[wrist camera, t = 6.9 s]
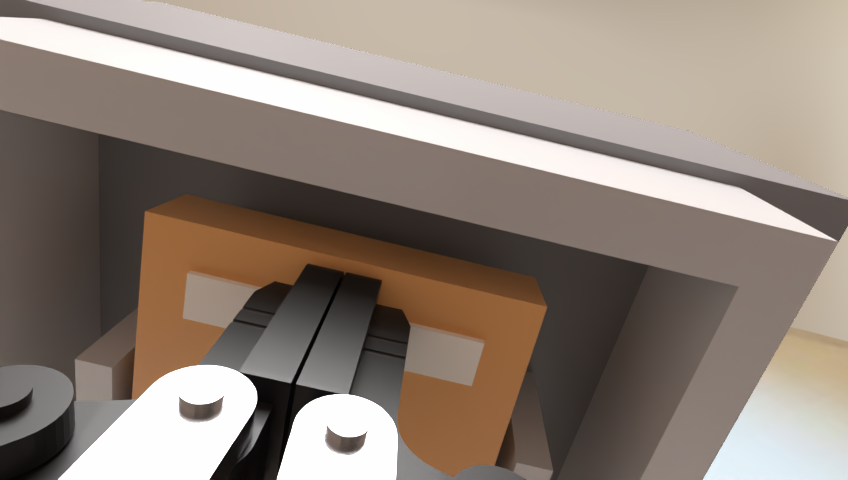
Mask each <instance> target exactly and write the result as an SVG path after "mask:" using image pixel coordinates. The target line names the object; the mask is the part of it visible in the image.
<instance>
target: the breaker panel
mask: <svg viewBox="0 0 848 480" xmlns="http://www.w3.org/2000/svg"><path fill="white" fill-rule="evenodd" d="M185 194H188V195H192V196H196V197H200V198H204V199H209V200H213V201H217V202H221V203H225V204H230V205H234V206H238V207H242V208H246V209H250V210H255V211H259V212H263V213H267V214H271V215H276V216H280V217H284V218H288V219H292V220H297V221H301V222H305V223H309V224H313V225H317V226H322V227H326V228H330V229H334V230H338V231H343V232H347V233H351V234H355V235H359V236H364V237H368V238H372V239H376V240H380V241H384V242H389V243H393V244H397V245H401V246H405V247H410V248H414V249H418V250H422V251H426V252H430V253H435V254H439V255H443V256H447V257H451V258H456V259H460V260H464V261H468V262H472V263H477V264H481V265H485V266H489V267H493V268H497V269H502V270H506V271H510V272H514V273H518V274H523V275H527V276H531V277H535V278H536V281H537V283H538V286H539V288H540V290H541V293H542V295H543V298H544V300H545V303H546V305H547V310H546V313H545V316H544V319H543V322H542V325H541V328H540V331H539V334H538V337H537V340H536V343H535V346H534V349H533V352H532V355H531V358H530V361H529V364H528V367H527V370H526V373H525V376H524V379H523V382H522V385H521V388H520V391H519V394H518V397H517V400H516V403H515V406H514V409H513V412H512V415H511V418H510V421H509V424H508V427H507V430H506V433H505V436H504V439H503V442H502V445H501V448H500V451H499V454H498V457H497V460H496V463H495V466H498V467H502V468H505V469H508V470H510V471H512V472H515V473H517V474H518V475H520V476H522V477H523V478H525V479H526V480H703V478H704V476H705V474H706V473H707V471H708V469H709V467H710V466H711V464H712V462H713V460H714V459H715V457H716V455H717V453H718V452H719V450H720V448H721V446H722V445H723V443H724V441H725V440H726V438H727V436H728V434H729V433H730V431H731V429H732V427H733V426H734V424H735V422H736V420H737V419H738V417H739V415H740V413H741V412H742V410H743V408H744V406H745V405H746V403H747V401H748V399H749V398H750V396H751V394H752V392H753V391H754V389H755V387H756V385H757V384H758V382H759V380H760V378H761V377H762V375H763V373H764V371H765V370H766V368H767V366H768V364H769V363H770V361H771V359H772V357H773V356H774V354H775V352H776V350H777V349H778V347H779V345H780V343H781V342H782V340H783V338H784V337H785V335H786V333H787V331H788V330H789V328H790V326H791V324H792V323H793V321H794V319H795V317H796V316H797V314H798V312H799V310H800V309H801V307H802V305H803V303H804V301H805V300H806V298H807V296H808V295H809V293H810V291H811V289H812V287H813V286H814V284H815V282H816V281H817V279H818V277H819V275H820V274H821V272H822V270H823V268H824V267H825V265H826V263H827V261H828V260H829V258H830V256H831V254H832V253H833V251H834V249H835V247H836V246H837V244H838V242H839V240H840V239H841V237H842V235H843V233H844V232H845V230H846V228H847V226H848V197H846V196H843V195H841V194H838V193H836V192H833V191H831V190H829V189H827V188H824V187H822V186H819V185H817V184H815V183H812V182H810V181H807V180H805V179H802V178H800V177H798V176H795V175H793V174H791V173H788V172H786V171H783V170H781V169H779V168H776V167H774V166H771V165H769V164H767V163H764V162H762V161H760V160H757V159H755V158H752V157H750V156H748V155H745V154H743V153H740V152H738V151H736V150H733V149H731V148H728V147H726V146H724V145H721V144H719V143H717V142H714V141H712V140H709V139H707V138H704V137H702V136H700V135H697V134H695V133H693V132H690V131H688V130H683V129H679V128H675V127H671V126H667V125H663V124H658V123H654V122H651V121H646V120H642V119H638V118H634V117H630V116H626V115H622V114H617V113H613V112H609V111H605V110H601V109H597V108H593V107H589V106H585V105H581V104H576V103H573V102H568V101H564V100H560V99H556V98H552V97H547V96H544V95H540V94H536V93H531V92H527V91H523V90H519V89H515V88H511V87H506V86H503V85H499V84H494V83H490V82H486V81H482V80H478V79H474V78H470V77H465V76H462V75H458V74H453V73H449V72H445V71H441V70H437V69H433V68H429V67H425V66H420V65H416V64H412V63H408V62H404V61H400V60H396V59H392V58H388V57H384V56H379V55H375V54H371V53H367V52H363V51H359V50H355V49H351V48H347V47H343V46H338V45H334V44H330V43H326V42H322V41H317V40H314V39H310V38H306V37H301V36H297V35H293V34H289V33H285V32H281V31H276V30H272V29H268V28H264V27H260V26H256V25H252V24H248V23H244V22H239V21H236V20H232V19H227V18H223V17H219V16H215V15H211V14H207V13H202V12H199V11H195V10H190V9H186V8H182V7H178V6H174V5H170V4H166V3H160V2H151V1H143V0H0V367H4V366H11V365H37V366H45V367H48V368H52V369H55V370H57V371H60V372H61V373H63V374H64V375H66V376H67V377H68V378H69V379H70V381H71V382H72V385H73V389H74V401H108V400H132V388H133V374H134V360H135V346H136V331H137V317H138V303H139V289H140V274H141V260H142V246H143V232H144V217H145V211H147V210H149V209H152V208H154V207H156V206H159V205H161V204H164V203H166V202H168V201H171V200H173V199H176V198H178V197H180V196H183V195H185Z"/></svg>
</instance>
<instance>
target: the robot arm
mask: <svg viewBox="0 0 848 480" xmlns="http://www.w3.org/2000/svg"><path fill="white" fill-rule="evenodd" d="M381 284H382V280H380V279H376V278H371V277H367V276H362V275H358V274H353V273H349V272H346V274H345V276H344V271H340V270H335V269H331V268H326V267H322V266H318V265H313V264H309V263H308V264H307V265H306V266H305V268H304V269H303V271H302V272H301V274H300V276H299V277H298V279H297V280H296V282H295V283H294V285H290V284H285V283H281V282H276V281H274V282H272V283H270V284H268V285H266V286H264V287H262V288H260V289H258V290H256V291H254V293H253V294H252V295H251V297H250V298H249V299H248V301H247V302H246V303H245V305H244V306H243V309H241V310H240V311H239V312H238V314H237V315H236V316H235V318H234V319H233V322H231V323H230V324H229V325H228V327H227V328H226V329H225V331H224V332H223V333H222V335H221V336H220V337H219V338H218V340H217V341H216V342H215V344H214V345H213V346H212V348H211V349H210V350H209V351H208V353H207V354H206V355H205V357H204V358H203V359H202V361H201V362H200V363H199V365H198V366H193V367H188V368H183V369H180V370H177V371H174V372H172V373H170V374H167V375H165V376H164V377H162V378H161V379H159V380H158V381H157V382H155V383H154V384H153V385H152V386H151V387H150V388H149V389H148V390H147V391H146V392H145V393H144V394H143V395H142V396H141V397H140V398H138V399H132V400H108V401H74V389H73V385H72V382H71V381H70V379H69V378H68V377H67V376H66V375H64V374H63V373H61V372H60V371H57V370H55V369H52V368H48V367H45V366H37V365H11V366H4V367H0V480H526V479H525V478H523V477H522V476H520V475H518V474H517V473H515V472H512V471H510V470H508V469H505V468H502V467H498V466H492V465H477V466H472V467H469V468H466V469H464V470H462V471H460V472H459V473H458V474H457V475H455V476H454V478H453V477H451V476H449V475H447V474H445V473H443V472H441V471H439V470H437V469H435V468H433V467H432V466H430V465H428V464H426V463H425V462H423V461H422V460H421V459H419V458H418V457H417V456H416V455H415V454H414V453H412V452H411V451H410V449H409V448H408V447H407V446H406V444H405V443H404V441H403V440H402V438H401V436H400V433H399V430H398V426H397V414H398V408H399V401H400V394H401V388H402V381H403V374H404V368H405V360H406V354H407V348H408V341H409V334H410V328H411V326H410V324H409V322H408V320H407V318H406V316H405V314H404V312H403V310H401V309H397V308H392V307H388V306H383V305H379V304H377V302H378V298H379V293H380V289H381Z"/></svg>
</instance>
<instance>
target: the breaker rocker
mask: <svg viewBox="0 0 848 480" xmlns="http://www.w3.org/2000/svg"><path fill="white" fill-rule="evenodd" d="M308 263H309V264H313V265H318V266H322V267H326V268H331V269H335V270H340V271H344V276H345V274H346V272H349V273H353V274H358V275H362V276H367V277H371V278H376V279H380V280H382V284H381V289H380V293H379V298H378V302H377V304H379V305H383V306H388V307H392V308H397V309H401V310H403V312H404V314H405V316H406V318H407V320H408V322H409V324H410V326H411V328H410V334H409V341H408V348H407V354H406V360H405V368H404V374H403V381H402V388H401V394H400V401H399V408H398V414H397V426H398V430H399V433H400V436H401V438H402V440H403V441H404V443H405V444H406V446H407V447H408V448H409V449H410V451H411V452H412V453H414V454H415V455H416V456H417V457H418V458H419V459H421V460H422V461H423V462H425V463H426V464H428V465H430V466H432V467H433V468H435V469H437V470H439V471H441V472H443V473H445V474H447V475H449V476H451V477H453V478H454V476H455V475H457V474H458V473H459V472H460V471H462V470H464V469H466V468H469V467H472V466H477V465H492V466H495V463H496V460H497V457H498V454H499V451H500V448H501V445H502V442H503V439H504V436H505V433H506V430H507V427H508V424H509V421H510V418H511V415H512V412H513V409H514V406H515V403H516V400H517V397H518V394H519V391H520V388H521V385H522V382H523V379H524V376H525V373H526V370H527V367H528V364H529V361H530V358H531V355H532V352H533V349H534V346H535V343H536V340H537V337H538V334H539V331H540V328H541V325H542V322H543V319H544V316H545V313H546V310H547V305H546V303H545V300H544V298H543V295H542V293H541V290H540V288H539V286H538V283H537V281H536V278H535V277H531V276H527V275H523V274H518V273H514V272H510V271H506V270H502V269H497V268H493V267H489V266H485V265H481V264H477V263H472V262H468V261H464V260H460V259H456V258H451V257H447V256H443V255H439V254H435V253H430V252H426V251H422V250H418V249H414V248H410V247H405V246H401V245H397V244H393V243H389V242H384V241H380V240H376V239H372V238H368V237H364V236H359V235H355V234H351V233H347V232H343V231H338V230H334V229H330V228H326V227H322V226H317V225H313V224H309V223H305V222H301V221H297V220H292V219H288V218H284V217H280V216H276V215H271V214H267V213H263V212H259V211H255V210H250V209H246V208H242V207H238V206H234V205H230V204H225V203H221V202H217V201H213V200H209V199H204V198H200V197H196V196H192V195H188V194H185V195H183V196H180V197H178V198H176V199H173V200H171V201H168V202H166V203H164V204H161V205H159V206H156V207H154V208H152V209H149V210H147V211H145V217H144V232H143V246H142V260H141V274H140V289H139V303H138V317H137V331H136V346H135V360H134V374H133V388H132V399H138V398H140V397H141V396H142V395H143V394H144V393H145V392H146V391H147V390H148V389H149V388H150V387H151V386H152V385H153V384H154V383H155V382H157V381H158V380H159V379H161V378H162V377H164V376H165V375H167V374H170V373H172V372H174V371H177V370H180V369H183V368H188V367H193V366H198V365H199V363H200V362H201V361H202V359H203V358H204V357H205V355H206V354H207V353H208V351H209V350H210V349H211V348H212V346H213V345H214V344H215V342H216V341H217V340H218V338H219V337H220V336H221V335H222V333H223V332H224V331H225V329H226V328H227V327H228V325H229V324H230V323H231V322H233V319H234V318H235V316H236V315H237V314H238V312H239V311H240V310H241V309H243V306H244V305H245V303H246V302H247V301H248V299H249V298H250V297H251V295H252V294H253V293H254V291H256V290H258V289H260V288H262V287H264V286H266V285H268V284H270V283H272V282H274V281H276V282H281V283H285V284H290V285H294V283H295V282H296V280H297V279H298V277H299V276H300V274H301V272H302V271H303V269H304V268H305V266H306V265H307V264H308Z"/></svg>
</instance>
